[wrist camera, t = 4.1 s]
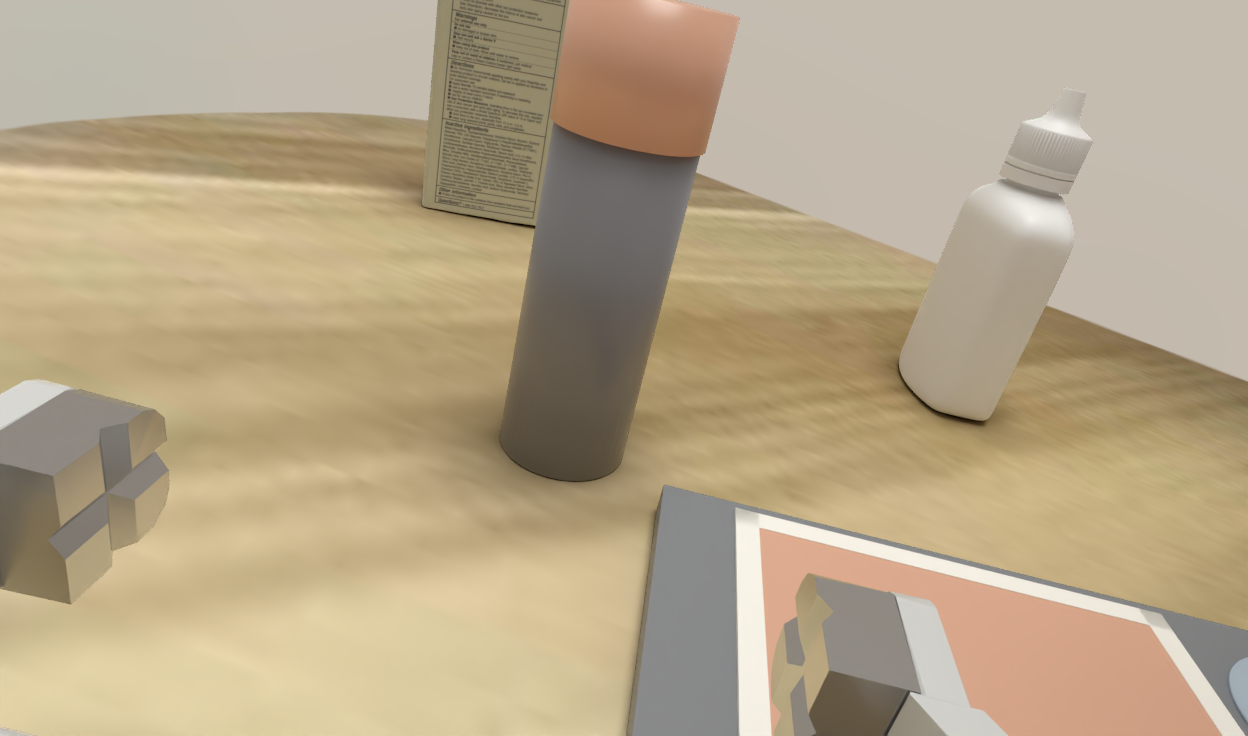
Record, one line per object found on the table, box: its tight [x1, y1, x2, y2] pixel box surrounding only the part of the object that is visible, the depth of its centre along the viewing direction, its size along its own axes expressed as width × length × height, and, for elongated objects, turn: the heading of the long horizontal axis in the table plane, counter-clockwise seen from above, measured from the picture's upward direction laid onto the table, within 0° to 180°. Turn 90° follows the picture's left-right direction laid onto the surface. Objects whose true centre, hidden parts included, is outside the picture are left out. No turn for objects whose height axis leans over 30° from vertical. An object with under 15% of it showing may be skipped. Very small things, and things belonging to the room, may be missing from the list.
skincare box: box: [422, 0, 570, 226], centre depth 38 cm, size 6×4×12 cm
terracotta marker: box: [500, 0, 740, 481], centre depth 20 cm, size 4×4×12 cm
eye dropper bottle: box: [899, 88, 1093, 421], centre depth 30 cm, size 4×6×12 cm
